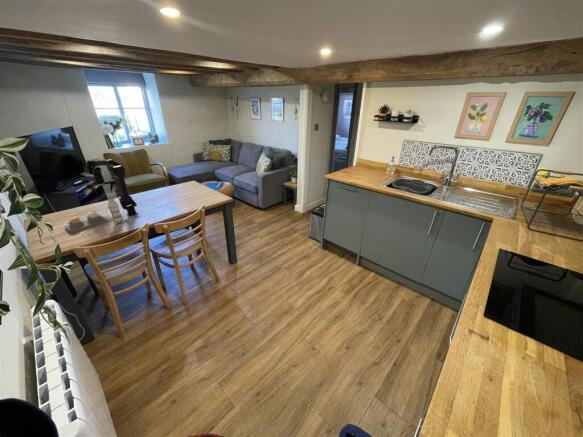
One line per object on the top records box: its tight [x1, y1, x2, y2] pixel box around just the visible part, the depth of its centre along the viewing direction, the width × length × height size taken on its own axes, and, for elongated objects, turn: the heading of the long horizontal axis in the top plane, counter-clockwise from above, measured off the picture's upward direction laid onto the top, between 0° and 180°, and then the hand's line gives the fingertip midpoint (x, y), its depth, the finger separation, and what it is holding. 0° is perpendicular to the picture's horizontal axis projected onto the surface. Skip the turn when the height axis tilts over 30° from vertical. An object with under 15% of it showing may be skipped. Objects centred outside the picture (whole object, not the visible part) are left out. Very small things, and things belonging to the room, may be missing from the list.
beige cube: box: [87, 210, 99, 218], centre depth 175 cm, size 4×4×4 cm
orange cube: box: [68, 215, 81, 224], centre depth 167 cm, size 4×4×4 cm
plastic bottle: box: [107, 197, 124, 225], centre depth 174 cm, size 6×7×20 cm
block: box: [64, 214, 109, 234], centre depth 173 cm, size 12×22×5 cm, turn 147°
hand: (104, 193), depth 193 cm, fingers open, 9 cm apart
